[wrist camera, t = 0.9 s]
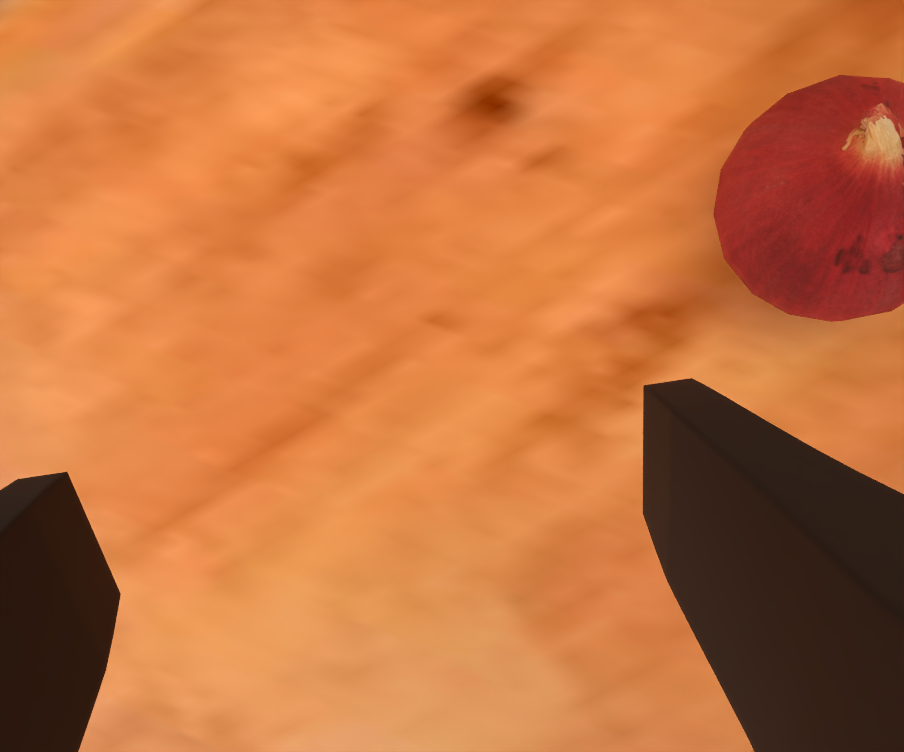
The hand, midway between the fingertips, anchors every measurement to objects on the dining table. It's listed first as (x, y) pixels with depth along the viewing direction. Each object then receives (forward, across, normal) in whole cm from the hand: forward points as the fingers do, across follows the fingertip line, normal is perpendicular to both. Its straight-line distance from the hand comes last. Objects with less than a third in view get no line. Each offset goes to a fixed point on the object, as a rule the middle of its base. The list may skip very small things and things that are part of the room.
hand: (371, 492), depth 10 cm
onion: (+13, -12, +3) cm, 18 cm away
